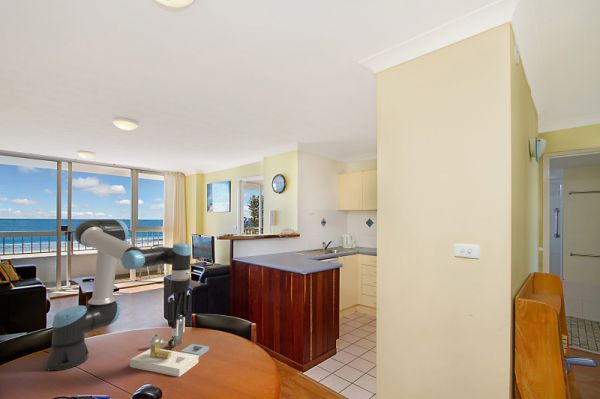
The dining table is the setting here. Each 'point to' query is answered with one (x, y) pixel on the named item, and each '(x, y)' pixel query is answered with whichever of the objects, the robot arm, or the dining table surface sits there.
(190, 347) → the gray square-hole plate
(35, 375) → the dining table surface
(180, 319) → the drill peg
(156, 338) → the valve
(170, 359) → the socket board
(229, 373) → the dining table surface
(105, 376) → the dining table surface
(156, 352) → the yellow l-shaped bracket
